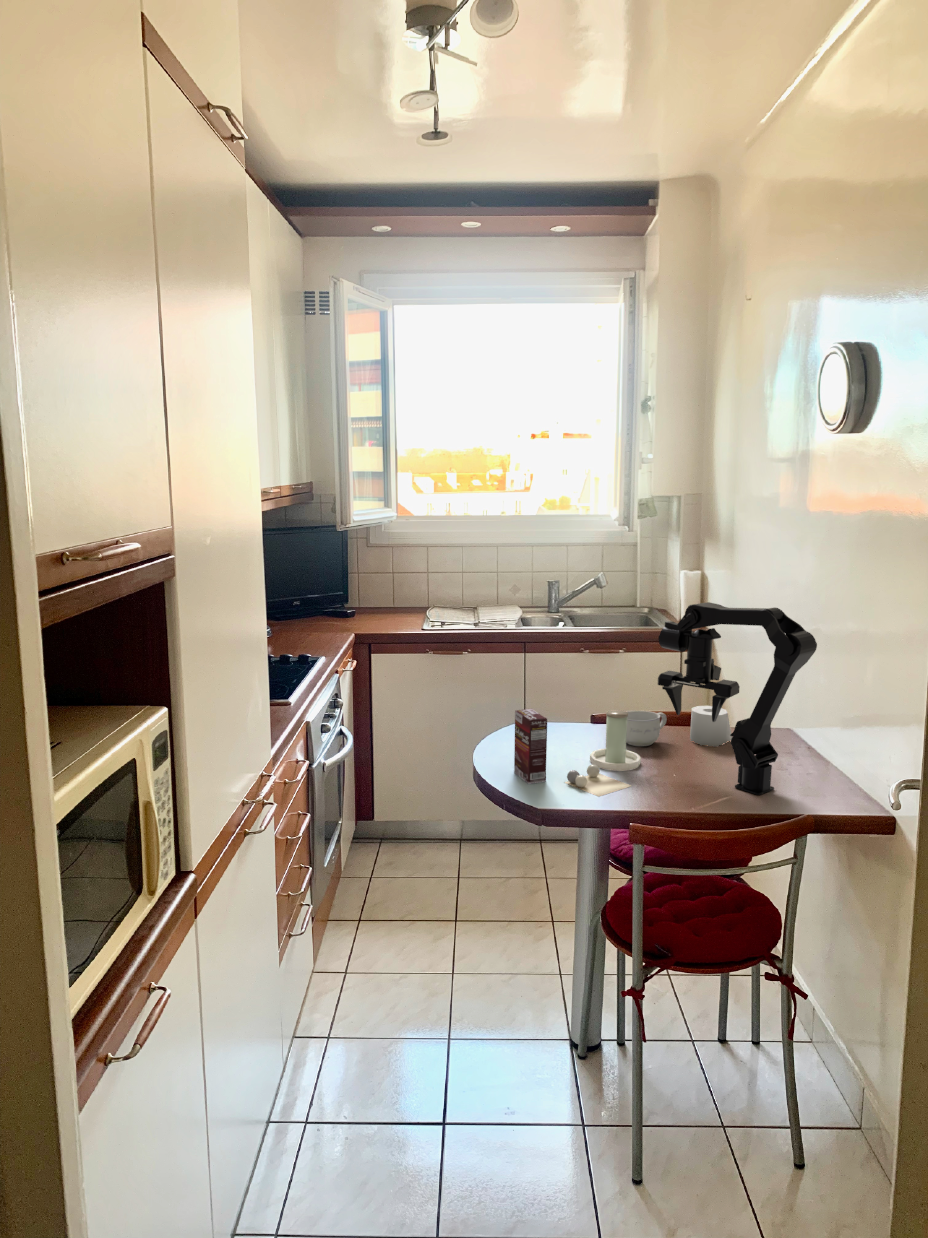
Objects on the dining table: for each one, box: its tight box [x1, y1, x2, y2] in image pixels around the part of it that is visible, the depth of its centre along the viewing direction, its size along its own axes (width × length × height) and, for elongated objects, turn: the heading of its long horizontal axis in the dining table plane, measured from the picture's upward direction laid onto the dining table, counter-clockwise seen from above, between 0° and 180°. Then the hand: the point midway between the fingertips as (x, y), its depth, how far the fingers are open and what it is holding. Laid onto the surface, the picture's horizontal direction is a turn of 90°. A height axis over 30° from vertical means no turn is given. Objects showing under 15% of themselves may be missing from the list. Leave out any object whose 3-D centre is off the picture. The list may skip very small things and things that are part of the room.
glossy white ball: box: [586, 764, 601, 777], centre depth 208 cm, size 3×3×3 cm
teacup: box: [626, 710, 667, 747], centre depth 235 cm, size 14×11×8 cm
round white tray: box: [589, 748, 642, 772], centre depth 218 cm, size 12×12×2 cm
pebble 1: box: [566, 769, 581, 783], centre depth 204 cm, size 3×3×3 cm
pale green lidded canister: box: [605, 709, 628, 763], centre depth 217 cm, size 5×5×12 cm
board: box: [563, 773, 632, 798], centre depth 203 cm, size 11×11×1 cm
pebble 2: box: [575, 774, 587, 788], centre depth 201 cm, size 3×3×3 cm
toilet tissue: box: [689, 705, 733, 747], centre depth 238 cm, size 9×13×9 cm
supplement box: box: [513, 708, 548, 785], centre depth 206 cm, size 9×5×16 cm, turn 21°
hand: (696, 718), depth 213 cm, fingers open, 9 cm apart
